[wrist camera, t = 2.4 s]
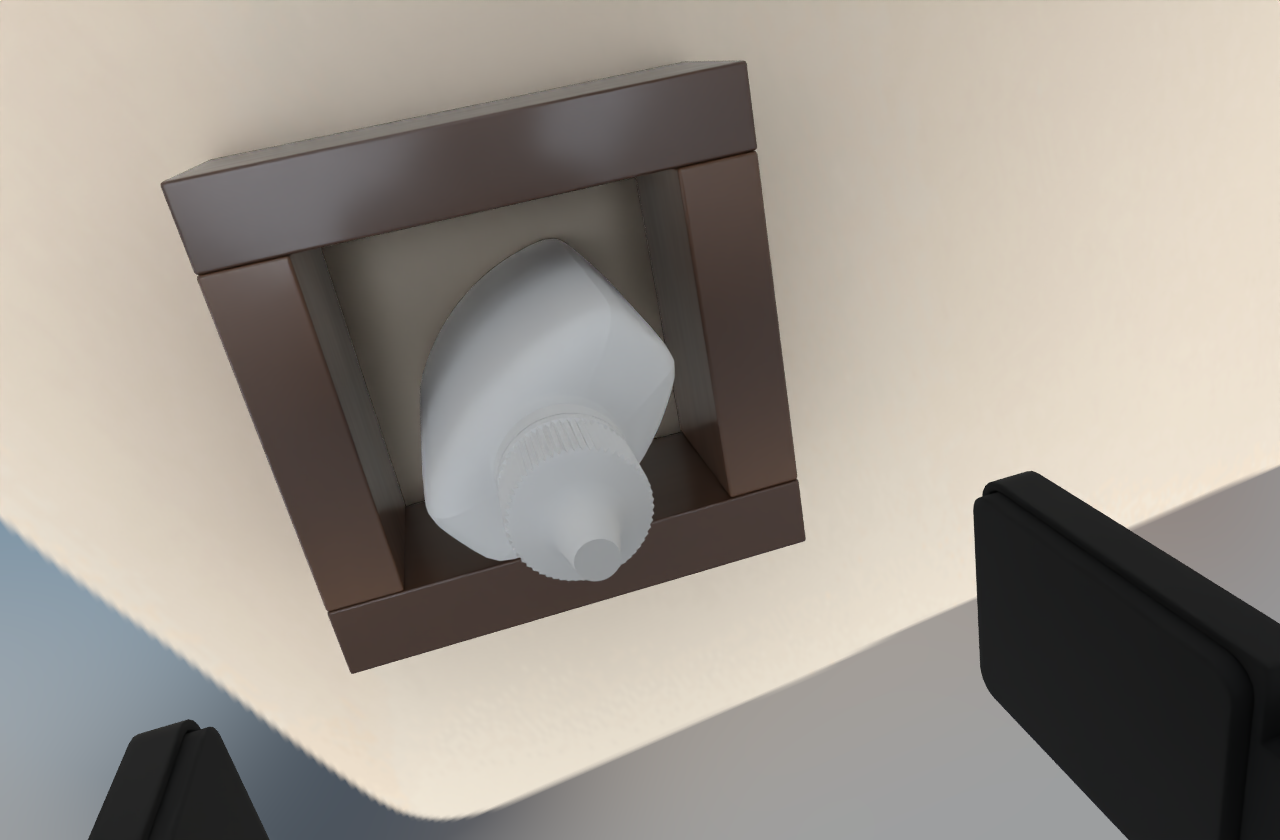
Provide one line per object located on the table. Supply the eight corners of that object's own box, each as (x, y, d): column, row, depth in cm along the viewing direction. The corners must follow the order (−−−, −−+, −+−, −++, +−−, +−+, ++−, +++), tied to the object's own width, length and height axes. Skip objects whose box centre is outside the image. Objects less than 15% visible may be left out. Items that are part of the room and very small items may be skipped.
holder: (208, 160, 21) (158, 183, 17) (685, 61, 22) (747, 59, 18) (360, 577, 25) (350, 675, 21) (746, 469, 27) (806, 541, 23)
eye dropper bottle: (636, 369, 25) (808, 602, 14) (445, 444, 24) (472, 745, 14) (584, 220, 23) (737, 355, 12) (377, 298, 23) (346, 510, 12)
